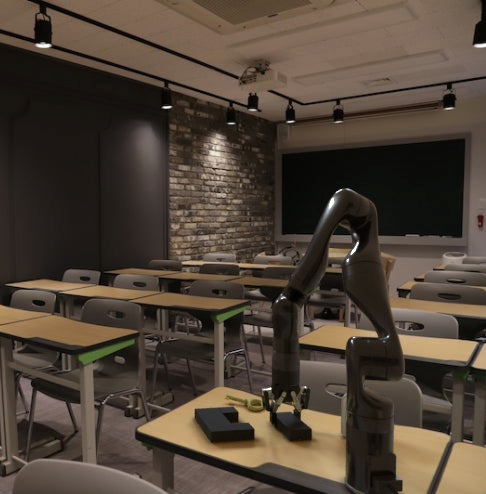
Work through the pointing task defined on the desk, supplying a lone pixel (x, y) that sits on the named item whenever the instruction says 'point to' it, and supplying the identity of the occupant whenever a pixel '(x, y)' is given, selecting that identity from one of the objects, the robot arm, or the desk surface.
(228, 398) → the key
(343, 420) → the photo printer
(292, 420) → the strip pad
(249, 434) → the base pad
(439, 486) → the desk surface
